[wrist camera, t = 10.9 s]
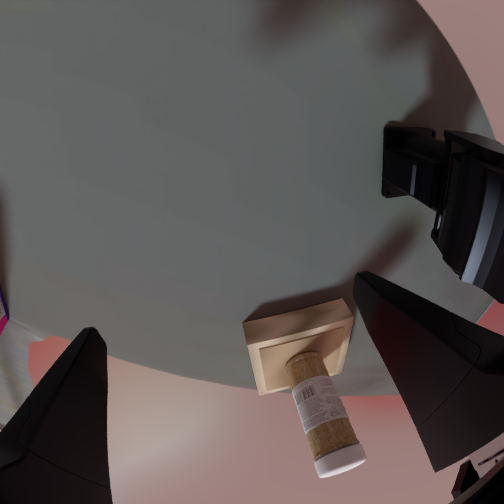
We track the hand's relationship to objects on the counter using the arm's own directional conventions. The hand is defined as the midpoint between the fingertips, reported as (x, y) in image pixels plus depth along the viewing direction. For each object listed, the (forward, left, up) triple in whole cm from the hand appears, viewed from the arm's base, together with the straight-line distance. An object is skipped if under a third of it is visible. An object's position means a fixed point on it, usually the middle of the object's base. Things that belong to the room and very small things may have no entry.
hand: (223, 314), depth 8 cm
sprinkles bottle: (-6, +20, -10) cm, 23 cm away
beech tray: (-6, +20, -13) cm, 25 cm away
